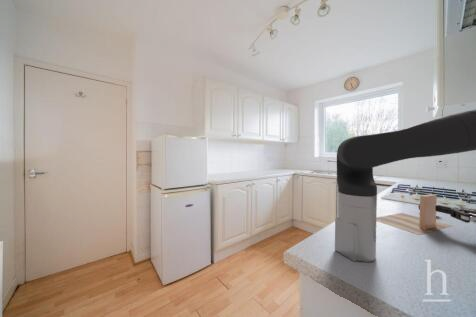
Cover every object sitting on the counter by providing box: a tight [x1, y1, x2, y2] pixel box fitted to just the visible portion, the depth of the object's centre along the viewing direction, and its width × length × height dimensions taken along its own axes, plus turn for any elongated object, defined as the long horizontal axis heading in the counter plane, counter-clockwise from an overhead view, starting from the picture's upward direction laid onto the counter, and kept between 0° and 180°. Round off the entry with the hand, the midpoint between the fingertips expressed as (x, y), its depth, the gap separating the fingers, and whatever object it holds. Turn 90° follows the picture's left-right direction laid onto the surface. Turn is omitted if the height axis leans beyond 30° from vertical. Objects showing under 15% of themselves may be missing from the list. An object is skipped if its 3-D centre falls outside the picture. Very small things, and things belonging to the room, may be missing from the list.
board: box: [376, 212, 453, 236], centre depth 72 cm, size 22×16×1 cm
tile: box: [419, 193, 438, 230], centre depth 66 cm, size 7×2×12 cm, turn 110°
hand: (436, 207), depth 64 cm, fingers closed
